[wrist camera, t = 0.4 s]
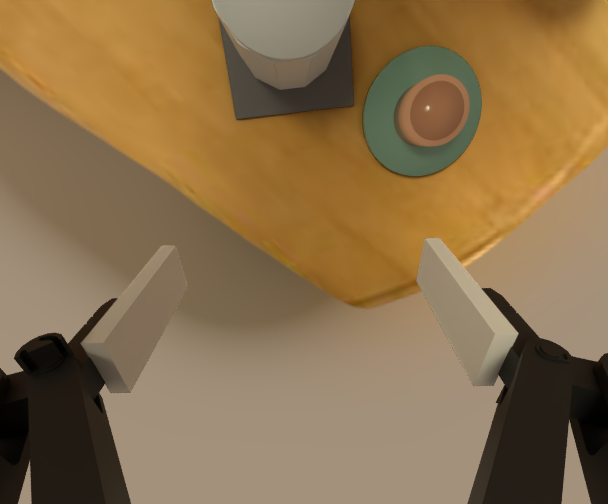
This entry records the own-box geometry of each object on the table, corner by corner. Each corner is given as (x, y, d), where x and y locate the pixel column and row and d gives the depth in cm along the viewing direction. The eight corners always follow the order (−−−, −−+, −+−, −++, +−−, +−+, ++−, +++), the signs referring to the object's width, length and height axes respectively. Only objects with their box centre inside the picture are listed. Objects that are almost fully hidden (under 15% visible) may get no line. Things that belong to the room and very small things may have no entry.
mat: (207, -53, 30) (206, -55, 30) (344, -68, 30) (345, -71, 30) (236, 119, 35) (236, 119, 35) (353, 105, 35) (353, 105, 35)
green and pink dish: (359, 56, 34) (369, 42, 29) (481, 42, 34) (510, 25, 29) (364, 181, 38) (374, 185, 34) (471, 168, 38) (495, 171, 34)
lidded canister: (226, -26, 30) (176, -160, 17) (332, -38, 30) (363, -182, 17) (244, 93, 34) (215, 58, 21) (339, 82, 34) (370, 40, 21)
